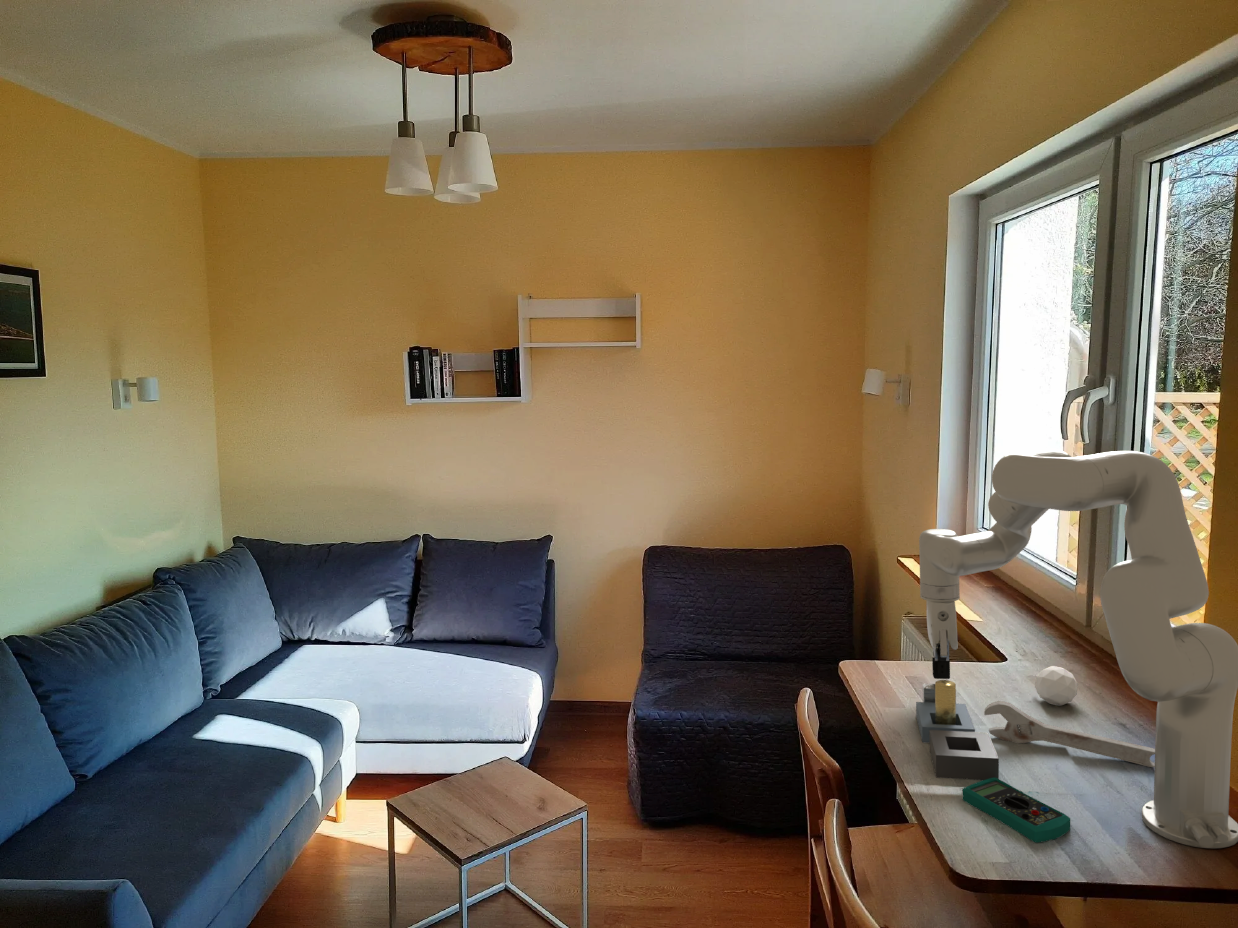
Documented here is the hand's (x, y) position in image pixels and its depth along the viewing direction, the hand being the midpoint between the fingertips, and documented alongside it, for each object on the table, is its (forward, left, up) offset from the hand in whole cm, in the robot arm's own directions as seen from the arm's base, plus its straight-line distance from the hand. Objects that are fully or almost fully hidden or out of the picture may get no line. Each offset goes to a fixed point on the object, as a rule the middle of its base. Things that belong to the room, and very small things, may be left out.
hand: (941, 677), depth 180 cm
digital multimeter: (-41, -6, -7) cm, 43 cm away
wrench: (-19, -20, -7) cm, 28 cm away
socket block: (-13, +1, -6) cm, 15 cm away
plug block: (-9, +1, -6) cm, 10 cm away
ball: (+4, -23, -7) cm, 24 cm away
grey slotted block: (-28, 0, -6) cm, 28 cm away
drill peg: (-15, +1, -5) cm, 16 cm away
